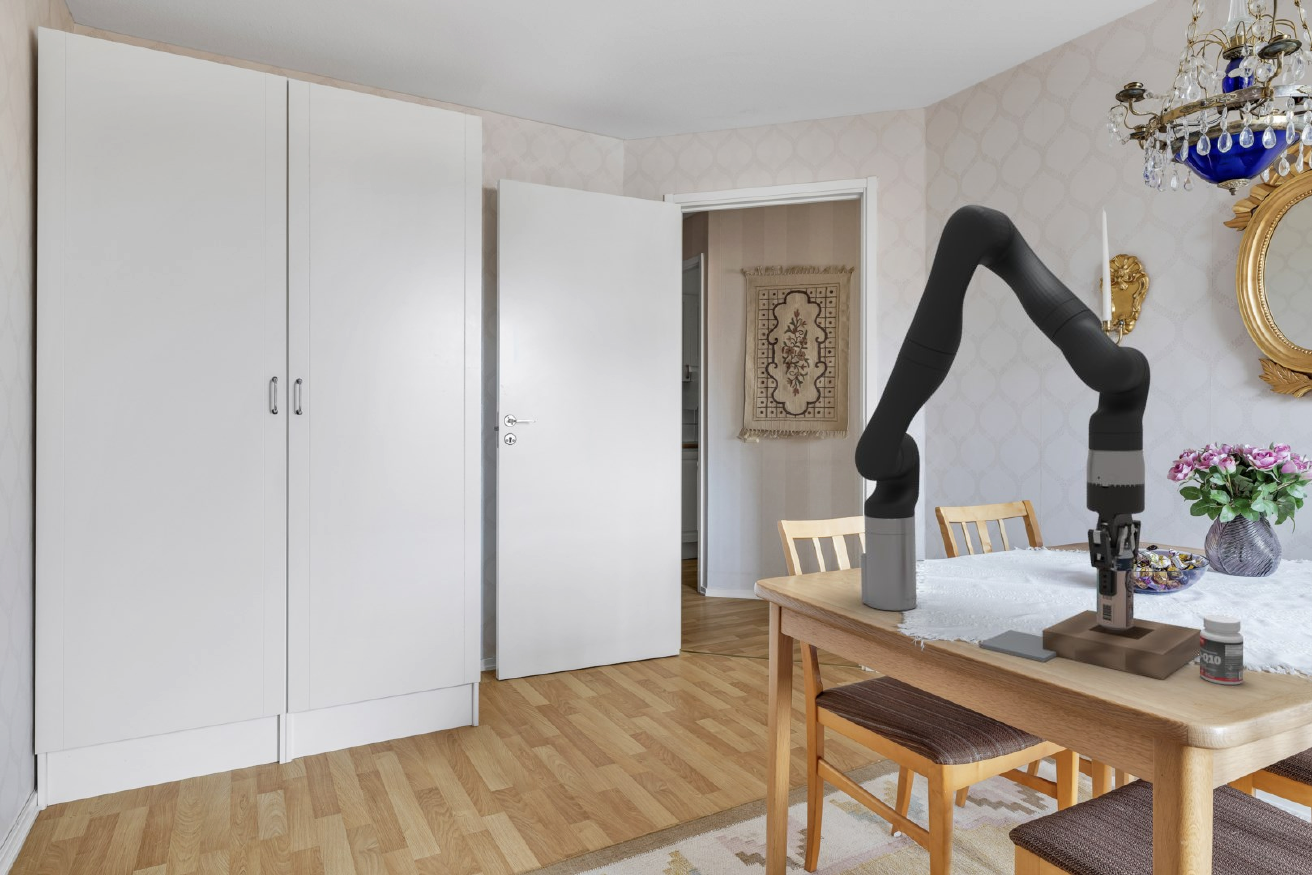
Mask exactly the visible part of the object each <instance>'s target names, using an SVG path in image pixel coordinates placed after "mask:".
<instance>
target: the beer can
mask: <svg viewBox="0 0 1312 875" xmlns="http://www.w3.org/2000/svg"><path fill="white" fill-rule="evenodd" d="M1110 549H1111V550H1114V549H1115V548H1110ZM1097 555H1098V554H1097ZM1111 559H1112V555H1111ZM1104 560H1105V558H1104ZM1116 572H1117V594H1116V595H1115V596H1112V597H1111V596H1105V595H1101V594H1100V593H1099V569H1097V568H1096V612H1097V623H1098V624H1100V625H1101V626H1102V627H1104V628H1108V629H1112V630H1127V629H1129V628H1131V627H1133V618H1134V612H1135V611H1134V604H1135V603H1134V601H1135V599H1134V598H1135V597H1134V595H1135V592H1134V590H1135V589H1134V587H1135V586H1134V585H1135V584H1134V582H1135V581H1134V580H1135V578H1134V577H1135V573H1134V572H1135V559H1134V555H1133V553H1132V552H1131V549H1129V548H1127V547H1124V548H1123V554H1122V556H1121V557H1119V558H1118V564H1117V570H1116Z"/></svg>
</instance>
